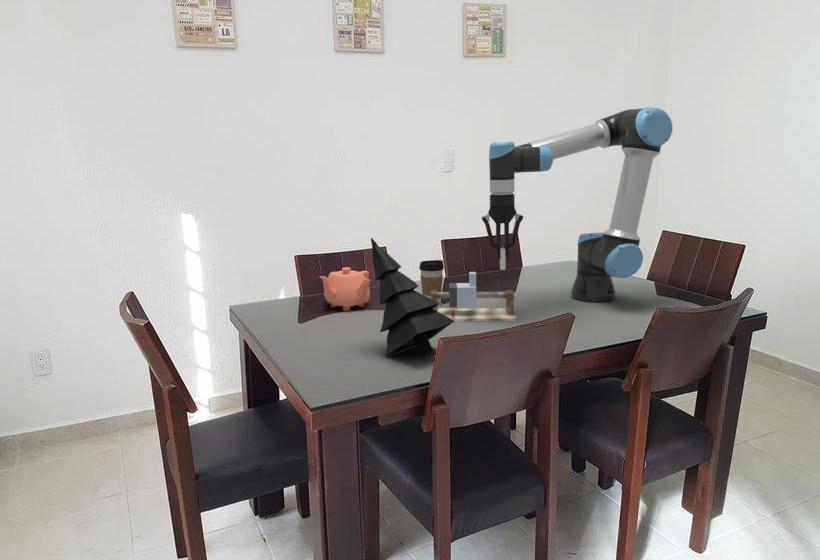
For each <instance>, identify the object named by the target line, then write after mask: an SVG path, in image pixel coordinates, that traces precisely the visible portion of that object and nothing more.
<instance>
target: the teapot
mask: <svg viewBox="0 0 820 560" xmlns="http://www.w3.org/2000/svg"><path fill="white" fill-rule="evenodd" d="M369 277H370V272H369V271H368V270H362V271H357V270H352V269H351V267H348V266H347V267H342V268H341V270H338V271H331V272H330V273H329V274H328V277H327V276H322V275H320V276H318V278H320V279H321V280H322V282H323V290H324V296H323V297H324V298H325V300H326V301H327V303H329V304H330V307H329V308H334V309H335V308H338V307H342V311H344V312H350V311H351V310H352V309H351V307H355V306H357V307H358V308H362V307H366V305H365V304H366V303H368V302H369V300H370V297H371V291H370V283H371V279H369Z"/></svg>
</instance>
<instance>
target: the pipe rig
mask: <svg viewBox="0 0 820 560" xmlns="http://www.w3.org/2000/svg"><path fill="white" fill-rule="evenodd" d="M438 298H441V299H449V291H441V292H437V291H431V299H432V300H434V301H436V302H438ZM476 299H505V307H503V308H502V307H500V308H499V307H496V308H495V307H494V308H493V307H492V308H491V307H490V308H489V307H488V308H487V307H486V308H483V307H480V308H479V307H464V308H449V307H448V308H447V307H446V308H445V307H443V308H441V307H440V308H438V307H439V305H437V306H436V307H434V308H433V309H434V310H436V311H437V312H439V313H441V314H443V315H445V316H447V317H448V318H450V319H452V320H453V321H455V322H456V323H458V322H460V323H462V322H463V323H465V322H470V323H472V322H473V323H475V322H474V321H484V322H486V321H487V322H486V323H490V322H491V323H493V322H505V323H506V322H517V321H518V320H517V319H518V318H517V315H516V314H515V292H514V290H513V289H511V290H509V289H507V290H505V291H476ZM455 322H454V323H455ZM484 322H483V323H484Z"/></svg>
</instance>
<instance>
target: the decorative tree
mask: <svg viewBox="0 0 820 560" xmlns="http://www.w3.org/2000/svg"><path fill="white" fill-rule="evenodd" d="M370 242H371V248H372V249H371V250H372V264H373V267H374V277H375V281H379V305H384V304H385V307H384V311H383V318H382V324H381V326H380V327H381V328H380V331H379V333H382V332H386V331H388V333H387V336H386V351H385V355H384V357H388V356H392V355H396V354H398V353H401V352H403V351H406V350H408V349H412V348H415V347H416V349H417V351H418V354H419V355H420V357H424V356H426V355H428V354H430V353H431V352H434V349H433V346H432V345H431V343H430V340H431V339H433V338H434V337H436V335H438V334H439V333H441V332H442V331H443V330H445V329H446V328H447V327H449V326H450V325H453V323H455V321H453V320H452V319H450V318H448V317H447V316H445V315H443V314H441V313H439V312H437V311H436V310H434V309H433V308H434V307H436V306H437V305H438V304H439V303H438V302H436V301H434V300H432V299H430V298H428V297H426V296H424V295H423V294H422V293H420V292H418V291H416V288H419V284H418V283H416V282H415V281H414V280H413V279H412V278H410V277H408V276H407V275H406V274H404V273H402V271H399V270H400V269H401V268H402V266H401V264H400V263H398V261H396V259H394V258H393V257H392V256H391V255H390V254H389V253H388V252H386V251H385V250H384V249H383V248H382V247H381V246H379V245H378V243H376V241H375V240H374V238H373V237H370ZM438 306H439V305H438Z"/></svg>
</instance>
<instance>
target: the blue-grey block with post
mask: <svg viewBox="0 0 820 560" xmlns="http://www.w3.org/2000/svg"><path fill="white" fill-rule="evenodd" d="M468 278H469V279H468V280H469V281H468V282H456V283H457V308H477V298H476V292H477V273H476V271H469V272H468Z"/></svg>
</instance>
